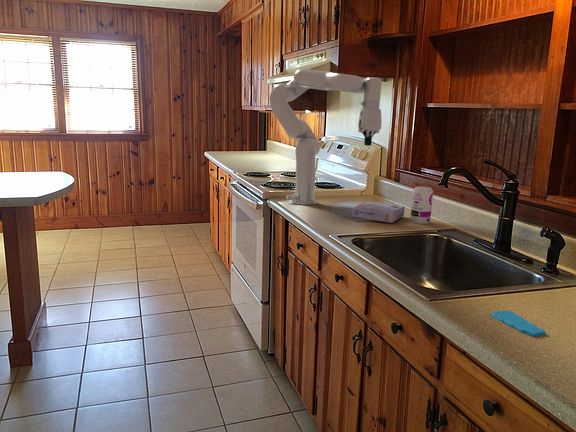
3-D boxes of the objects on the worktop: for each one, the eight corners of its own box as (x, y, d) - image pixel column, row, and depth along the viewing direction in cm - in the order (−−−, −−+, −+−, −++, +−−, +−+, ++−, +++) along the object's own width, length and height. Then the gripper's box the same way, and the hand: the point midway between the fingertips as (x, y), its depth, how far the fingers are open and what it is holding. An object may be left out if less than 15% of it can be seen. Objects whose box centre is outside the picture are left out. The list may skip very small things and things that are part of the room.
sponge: (524, 335, 103) (548, 330, 104) (488, 312, 114) (510, 307, 115) (524, 341, 103) (547, 336, 104) (488, 318, 114) (509, 313, 116)
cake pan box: (363, 211, 224) (349, 217, 209) (363, 200, 223) (350, 205, 208) (404, 217, 216) (393, 223, 200) (405, 205, 215) (394, 211, 199)
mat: (357, 222, 203) (357, 220, 203) (330, 211, 222) (330, 210, 222) (392, 218, 211) (392, 217, 211) (363, 208, 230) (364, 207, 230)
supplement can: (431, 221, 208) (434, 187, 205) (428, 225, 201) (431, 189, 198) (412, 219, 212) (415, 185, 208) (408, 223, 204) (411, 188, 201)
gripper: (361, 104, 216) (358, 146, 220) (389, 106, 221) (385, 146, 226) (352, 104, 222) (349, 144, 226) (380, 105, 228) (376, 144, 232)
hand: (367, 145), depth 226 cm, fingers closed
